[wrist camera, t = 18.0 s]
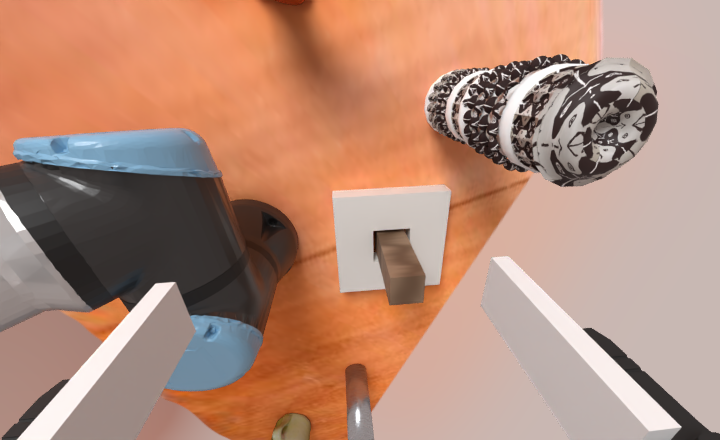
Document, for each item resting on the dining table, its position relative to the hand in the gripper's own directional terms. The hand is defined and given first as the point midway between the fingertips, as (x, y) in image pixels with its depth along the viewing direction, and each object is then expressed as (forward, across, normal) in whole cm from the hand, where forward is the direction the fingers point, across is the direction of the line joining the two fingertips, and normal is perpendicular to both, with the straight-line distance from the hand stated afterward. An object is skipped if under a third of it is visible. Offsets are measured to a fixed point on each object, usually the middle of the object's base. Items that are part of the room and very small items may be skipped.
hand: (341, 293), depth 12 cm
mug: (+32, -16, -67) cm, 76 cm away
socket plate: (+32, +8, -16) cm, 36 cm away
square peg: (+32, +8, -16) cm, 36 cm away
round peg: (+32, +1, -51) cm, 60 cm away
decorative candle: (+32, +17, +5) cm, 36 cm away
